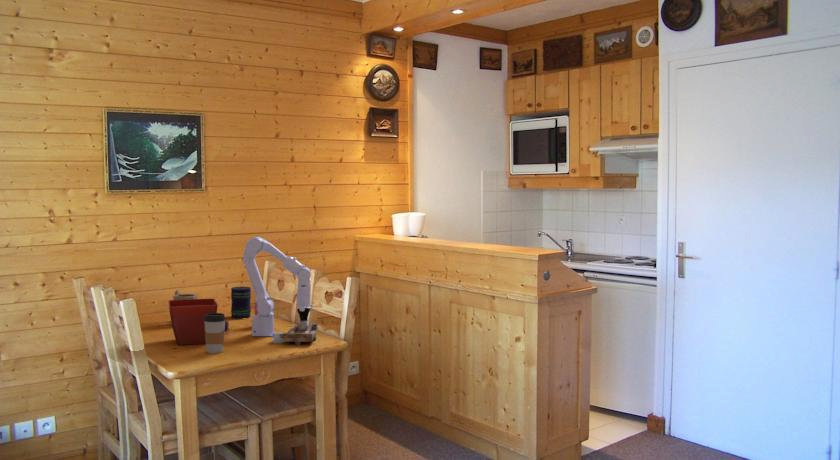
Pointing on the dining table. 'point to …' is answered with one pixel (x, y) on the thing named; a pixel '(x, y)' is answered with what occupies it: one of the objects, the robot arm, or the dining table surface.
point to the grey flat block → (301, 334)
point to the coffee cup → (214, 332)
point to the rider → (302, 324)
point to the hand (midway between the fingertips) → (303, 324)
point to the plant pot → (190, 319)
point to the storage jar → (240, 302)
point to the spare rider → (278, 337)
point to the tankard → (183, 297)
